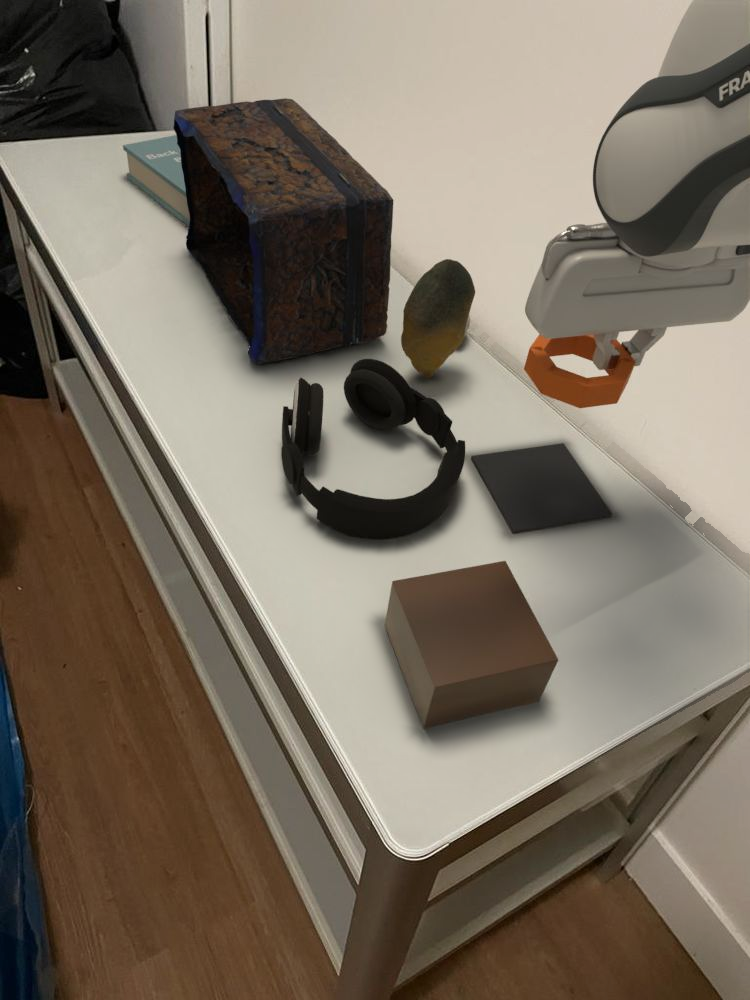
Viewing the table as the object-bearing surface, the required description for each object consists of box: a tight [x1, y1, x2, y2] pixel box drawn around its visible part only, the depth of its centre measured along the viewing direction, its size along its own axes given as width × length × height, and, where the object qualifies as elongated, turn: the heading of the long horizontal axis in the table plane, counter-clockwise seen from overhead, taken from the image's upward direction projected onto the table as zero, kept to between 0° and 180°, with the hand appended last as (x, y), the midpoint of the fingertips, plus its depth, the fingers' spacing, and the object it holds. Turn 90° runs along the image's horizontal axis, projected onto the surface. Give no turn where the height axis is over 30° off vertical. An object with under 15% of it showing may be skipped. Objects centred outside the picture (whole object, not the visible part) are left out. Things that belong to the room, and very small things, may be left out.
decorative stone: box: [400, 258, 476, 379], centre depth 88 cm, size 10×6×15 cm, turn 130°
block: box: [384, 560, 559, 729], centre depth 63 cm, size 10×10×6 cm
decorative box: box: [173, 97, 394, 365], centre depth 95 cm, size 31×20×20 cm
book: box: [122, 134, 190, 227], centre depth 119 cm, size 23×16×5 cm
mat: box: [470, 442, 613, 534], centre depth 81 cm, size 11×11×1 cm
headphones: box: [280, 358, 466, 540], centre depth 78 cm, size 18×8×20 cm
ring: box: [523, 333, 636, 409], centre depth 71 cm, size 9×9×2 cm
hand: (615, 364), depth 72 cm, fingers closed on ring, 1 cm apart
